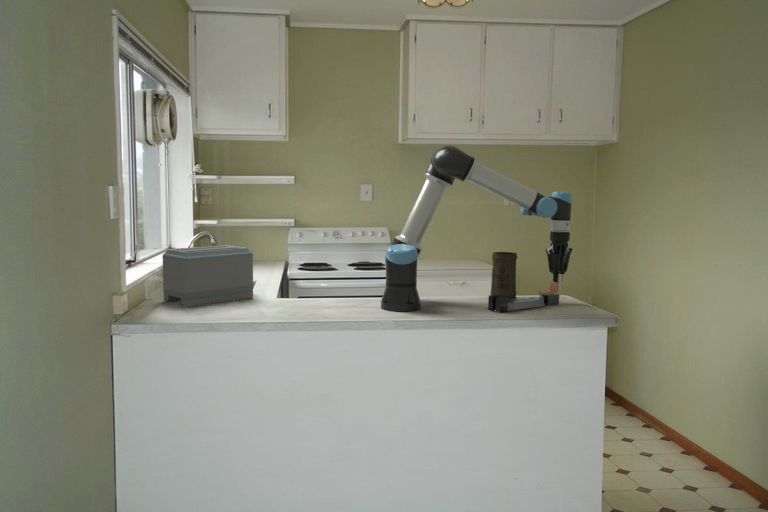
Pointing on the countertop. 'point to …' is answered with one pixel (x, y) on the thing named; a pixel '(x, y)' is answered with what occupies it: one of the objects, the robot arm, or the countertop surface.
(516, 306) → the tong arm
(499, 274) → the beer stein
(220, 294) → the toaster
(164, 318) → the countertop surface
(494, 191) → the robot arm
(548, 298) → the tongs base
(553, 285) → the lock tab
